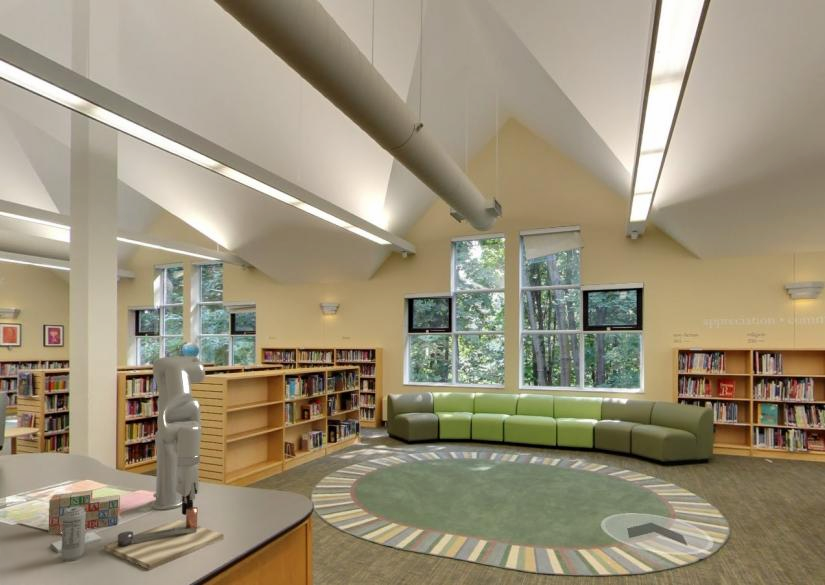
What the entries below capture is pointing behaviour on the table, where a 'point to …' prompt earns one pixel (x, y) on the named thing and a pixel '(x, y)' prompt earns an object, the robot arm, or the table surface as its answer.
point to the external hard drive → (89, 539)
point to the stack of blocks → (96, 509)
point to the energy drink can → (73, 533)
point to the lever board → (165, 545)
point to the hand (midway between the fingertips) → (187, 513)
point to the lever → (191, 526)
